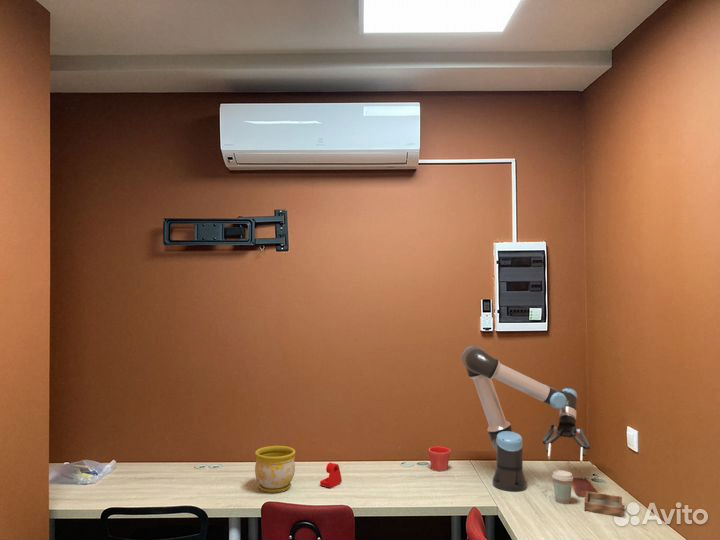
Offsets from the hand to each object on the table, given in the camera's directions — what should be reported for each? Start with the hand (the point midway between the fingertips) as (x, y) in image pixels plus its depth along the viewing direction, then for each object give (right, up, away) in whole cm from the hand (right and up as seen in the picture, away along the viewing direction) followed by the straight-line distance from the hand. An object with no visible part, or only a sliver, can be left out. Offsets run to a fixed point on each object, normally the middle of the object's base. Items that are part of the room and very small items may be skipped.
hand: (564, 459), depth 246 cm
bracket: (-105, -14, +7) cm, 107 cm away
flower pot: (-52, -15, +31) cm, 62 cm away
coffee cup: (-5, -15, -10) cm, 18 cm away
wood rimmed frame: (+10, -14, -17) cm, 24 cm away
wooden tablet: (+11, -16, +7) cm, 21 cm away
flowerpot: (-130, -14, +2) cm, 131 cm away
